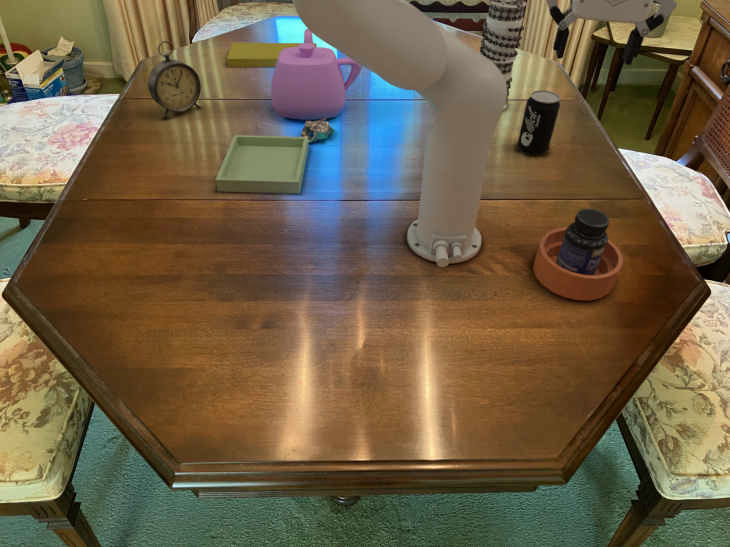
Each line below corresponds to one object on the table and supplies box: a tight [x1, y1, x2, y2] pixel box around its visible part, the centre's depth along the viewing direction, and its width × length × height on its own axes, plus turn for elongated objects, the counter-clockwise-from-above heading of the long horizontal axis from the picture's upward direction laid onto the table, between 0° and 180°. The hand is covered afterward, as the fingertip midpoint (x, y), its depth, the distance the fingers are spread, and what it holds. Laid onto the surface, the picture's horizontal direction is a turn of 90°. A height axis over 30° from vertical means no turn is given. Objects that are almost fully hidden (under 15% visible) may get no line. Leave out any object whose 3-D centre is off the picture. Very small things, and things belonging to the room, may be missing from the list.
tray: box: [215, 134, 310, 195], centre depth 110 cm, size 18×16×3 cm
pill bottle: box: [556, 208, 610, 275], centre depth 85 cm, size 6×6×11 cm
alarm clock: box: [147, 40, 202, 120], centre depth 124 cm, size 11×5×16 cm, turn 131°
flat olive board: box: [226, 42, 318, 68], centre depth 154 cm, size 12×2×24 cm
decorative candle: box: [479, 0, 528, 111], centre depth 127 cm, size 9×9×25 cm
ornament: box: [300, 118, 335, 144], centre depth 120 cm, size 8×7×4 cm
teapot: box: [270, 28, 363, 120], centre depth 129 cm, size 23×21×15 cm
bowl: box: [532, 226, 624, 302], centre depth 87 cm, size 12×12×5 cm
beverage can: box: [517, 89, 561, 156], centre depth 115 cm, size 7×7×12 cm
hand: (592, 58), depth 81 cm, fingers open, 9 cm apart
